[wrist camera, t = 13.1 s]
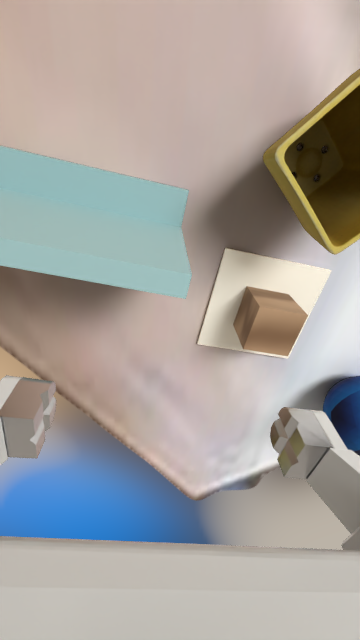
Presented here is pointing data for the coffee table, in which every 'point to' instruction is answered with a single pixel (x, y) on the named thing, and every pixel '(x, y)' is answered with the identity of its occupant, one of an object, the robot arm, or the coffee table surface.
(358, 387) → the bomb
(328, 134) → the flower pot
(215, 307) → the pad
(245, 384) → the coffee table surface
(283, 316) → the brown block
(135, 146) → the coffee table surface
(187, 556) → the robot arm
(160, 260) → the screen
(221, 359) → the coffee table surface
